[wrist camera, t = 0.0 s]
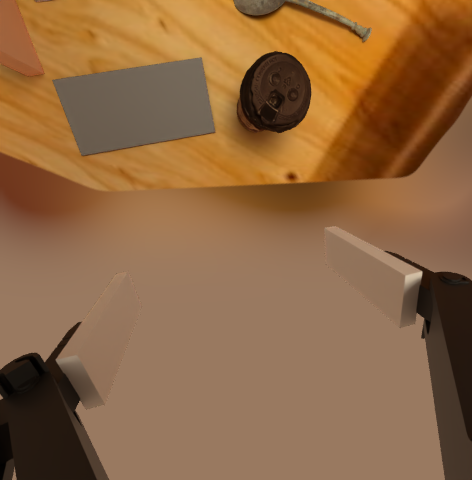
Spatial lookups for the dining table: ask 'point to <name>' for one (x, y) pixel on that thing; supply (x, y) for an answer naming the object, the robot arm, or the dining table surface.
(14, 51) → the tile
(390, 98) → the dining table surface
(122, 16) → the dining table surface
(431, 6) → the dining table surface
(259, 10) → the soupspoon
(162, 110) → the mat
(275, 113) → the coffee cup
